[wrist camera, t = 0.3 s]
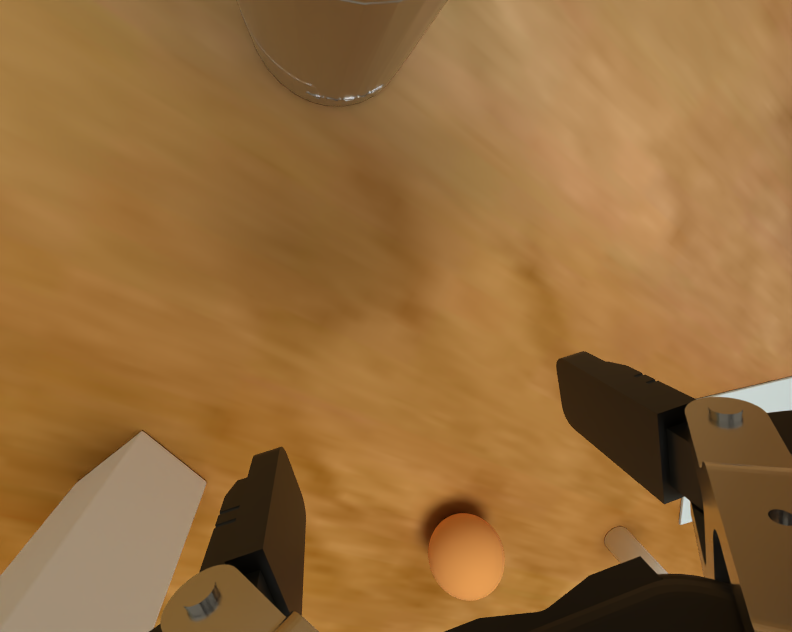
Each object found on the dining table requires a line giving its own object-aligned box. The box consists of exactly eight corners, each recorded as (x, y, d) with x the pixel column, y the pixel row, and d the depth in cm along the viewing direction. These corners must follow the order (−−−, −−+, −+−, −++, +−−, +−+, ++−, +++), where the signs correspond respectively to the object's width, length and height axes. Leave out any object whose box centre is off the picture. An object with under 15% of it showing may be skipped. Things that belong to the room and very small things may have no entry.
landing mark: (692, 400, 37) (694, 401, 36) (821, 369, 39) (823, 370, 39) (678, 523, 41) (680, 524, 41) (795, 489, 43) (797, 491, 43)
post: (604, 530, 39) (684, 623, 31) (628, 523, 40) (714, 613, 31) (603, 551, 40) (681, 647, 32) (627, 544, 40) (710, 637, 32)
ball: (416, 506, 34) (436, 568, 29) (484, 489, 35) (517, 546, 29) (424, 561, 36) (444, 629, 30) (488, 543, 37) (520, 607, 31)
